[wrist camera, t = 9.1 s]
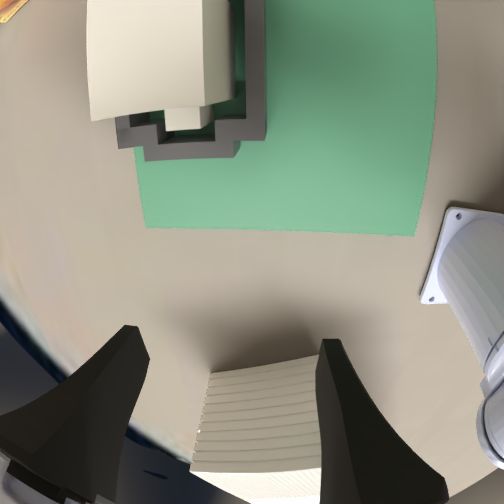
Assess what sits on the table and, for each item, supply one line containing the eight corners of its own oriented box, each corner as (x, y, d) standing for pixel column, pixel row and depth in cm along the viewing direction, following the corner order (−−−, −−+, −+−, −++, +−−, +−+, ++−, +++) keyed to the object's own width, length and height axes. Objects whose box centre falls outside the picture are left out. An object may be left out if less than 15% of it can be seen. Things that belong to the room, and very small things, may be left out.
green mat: (417, -57, 8) (423, -61, 7) (408, 229, 18) (414, 236, 17) (139, -61, 9) (132, -67, 8) (151, 221, 19) (146, 228, 18)
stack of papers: (355, 458, 39) (359, 512, 30) (295, 467, 42) (293, 519, 33) (320, 352, 25) (328, 467, 16) (210, 371, 27) (189, 471, 18)
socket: (265, -14, 10) (262, -31, 8) (266, 147, 15) (264, 158, 13) (133, 4, 11) (111, -5, 9) (140, 152, 16) (120, 163, 14)
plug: (234, -20, 10) (203, -81, 4) (237, 120, 15) (206, 144, 9) (160, -10, 11) (92, -50, 5) (164, 124, 15) (95, 154, 9)
